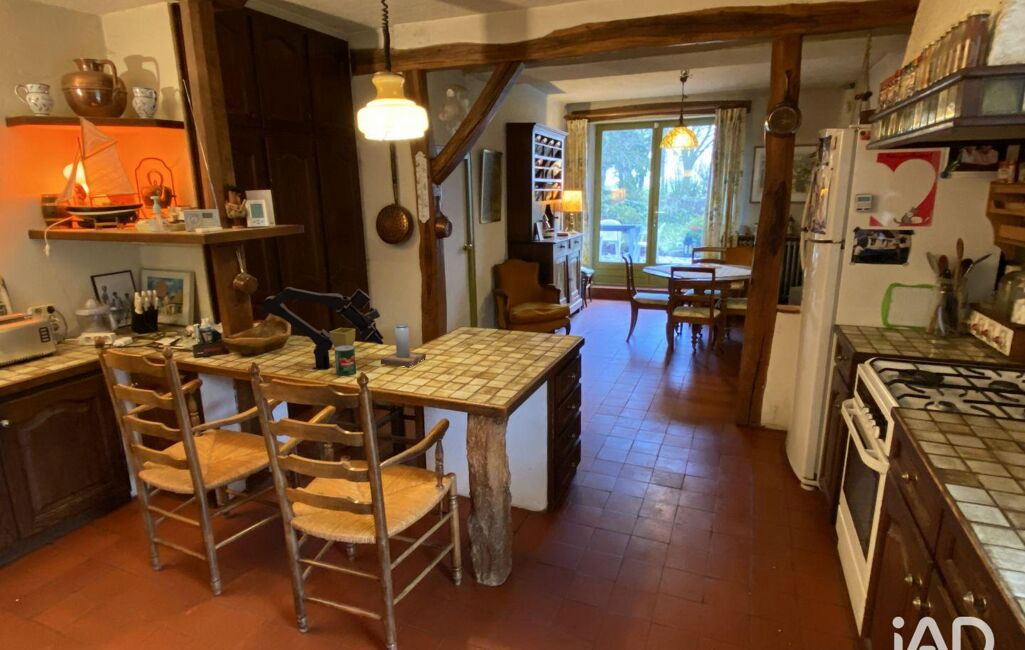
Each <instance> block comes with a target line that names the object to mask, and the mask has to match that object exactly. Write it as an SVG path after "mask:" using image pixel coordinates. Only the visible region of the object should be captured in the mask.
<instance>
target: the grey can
mask: <svg viewBox="0 0 1025 650" xmlns="http://www.w3.org/2000/svg"><path fill="white" fill-rule="evenodd" d="M394 331H395V348H396V350H395V352H396V353H397V357H398V358H407V357H409V356H410V352H411V351H410V330H409V325H408V324H407V323H399V324H398V323H397V324H396V325H395V327H394Z"/></svg>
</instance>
